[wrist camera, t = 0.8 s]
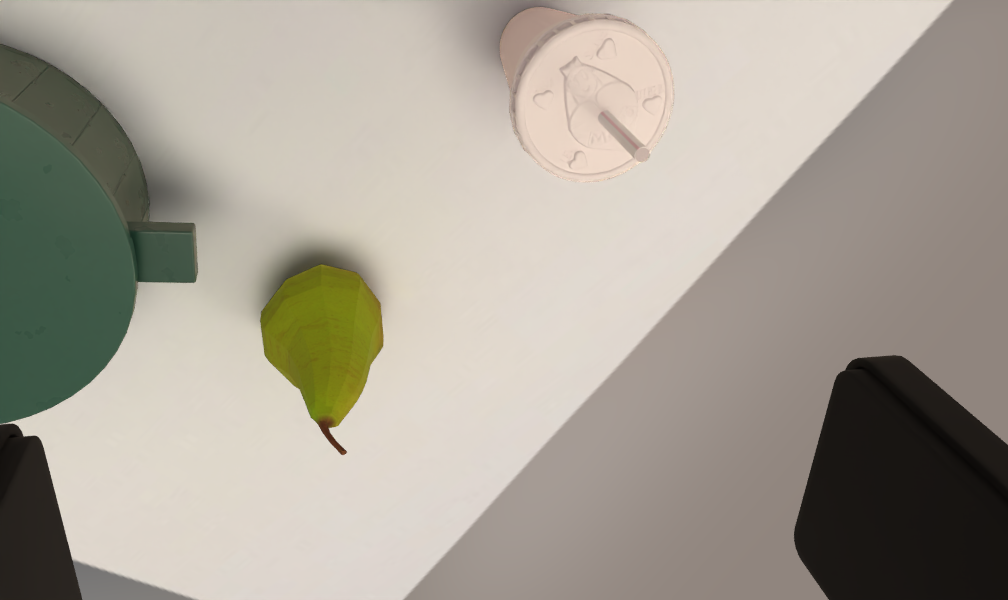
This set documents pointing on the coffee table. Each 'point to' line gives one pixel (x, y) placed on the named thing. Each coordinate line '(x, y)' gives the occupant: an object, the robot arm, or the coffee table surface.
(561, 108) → the smoothie
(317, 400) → the fruit
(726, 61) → the coffee table surface
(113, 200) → the lid
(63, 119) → the pot
